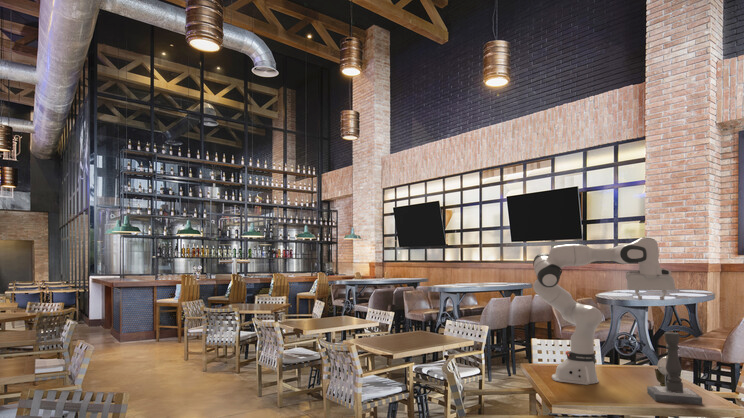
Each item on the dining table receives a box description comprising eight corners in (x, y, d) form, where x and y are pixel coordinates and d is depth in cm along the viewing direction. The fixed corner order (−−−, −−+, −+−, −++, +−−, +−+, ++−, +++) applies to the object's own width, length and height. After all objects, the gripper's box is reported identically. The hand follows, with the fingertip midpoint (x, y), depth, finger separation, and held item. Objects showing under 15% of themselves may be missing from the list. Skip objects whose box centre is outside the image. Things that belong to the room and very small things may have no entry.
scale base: (655, 401, 214) (653, 360, 216) (647, 392, 227) (645, 354, 229) (702, 404, 208) (699, 363, 210) (691, 396, 222) (689, 357, 224)
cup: (675, 388, 235) (674, 371, 235) (659, 387, 236) (658, 371, 237) (669, 384, 242) (668, 368, 243) (653, 384, 243) (652, 367, 244)
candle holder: (683, 392, 212) (679, 334, 215) (666, 390, 216) (663, 333, 218) (682, 389, 218) (679, 332, 220) (666, 387, 221) (663, 331, 223)
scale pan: (660, 394, 213) (660, 391, 214) (653, 388, 224) (653, 385, 224) (696, 397, 209) (696, 394, 209) (688, 390, 220) (688, 388, 220)
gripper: (627, 270, 234) (628, 299, 232) (675, 271, 228) (676, 301, 226) (624, 270, 240) (625, 298, 238) (671, 271, 234) (672, 300, 232)
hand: (651, 299), depth 232 cm, fingers open, 8 cm apart
